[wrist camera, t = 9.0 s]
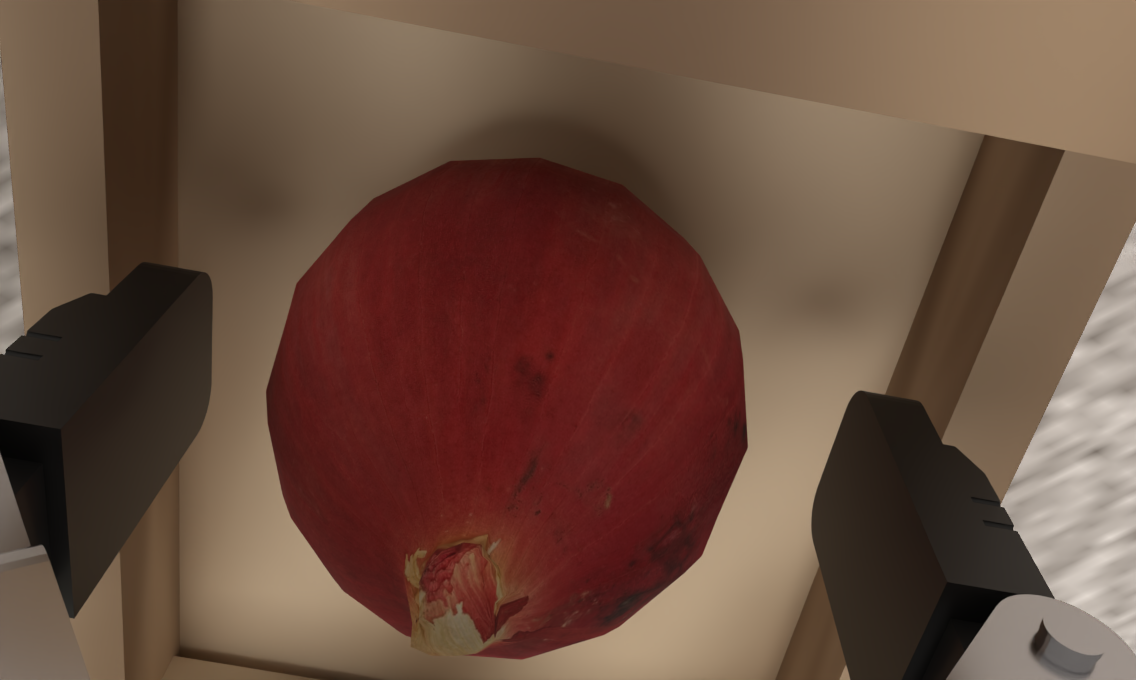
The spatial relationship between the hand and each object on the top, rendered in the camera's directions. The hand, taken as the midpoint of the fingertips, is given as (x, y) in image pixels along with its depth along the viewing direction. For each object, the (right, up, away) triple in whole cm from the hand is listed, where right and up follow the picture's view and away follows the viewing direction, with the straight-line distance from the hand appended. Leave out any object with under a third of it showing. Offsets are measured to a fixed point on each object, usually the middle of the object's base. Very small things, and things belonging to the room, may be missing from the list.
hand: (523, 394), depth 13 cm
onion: (0, +2, +3) cm, 4 cm away
